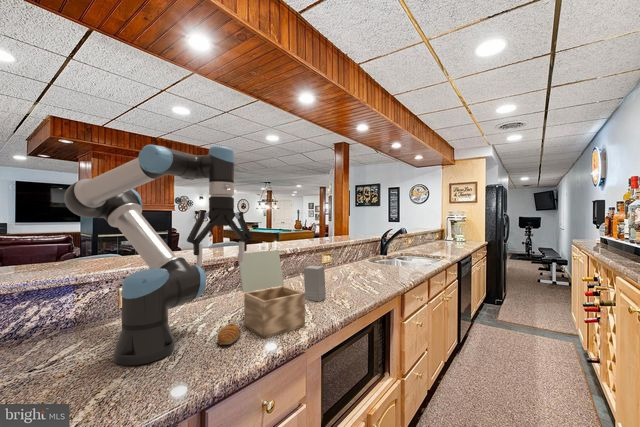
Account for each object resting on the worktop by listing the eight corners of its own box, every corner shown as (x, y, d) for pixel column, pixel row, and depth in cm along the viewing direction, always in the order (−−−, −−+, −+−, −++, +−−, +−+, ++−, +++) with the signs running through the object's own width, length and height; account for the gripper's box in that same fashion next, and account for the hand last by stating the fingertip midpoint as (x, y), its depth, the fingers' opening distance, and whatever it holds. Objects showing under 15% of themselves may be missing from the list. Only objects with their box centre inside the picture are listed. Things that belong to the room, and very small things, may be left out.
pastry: (235, 346, 90) (235, 334, 90) (212, 346, 90) (213, 334, 90) (241, 334, 100) (242, 322, 100) (221, 334, 99) (221, 322, 99)
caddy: (263, 338, 97) (263, 302, 97) (244, 326, 108) (244, 293, 108) (304, 326, 108) (305, 293, 108) (283, 316, 119) (283, 286, 119)
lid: (238, 253, 111) (236, 254, 112) (243, 292, 108) (241, 293, 109) (278, 250, 122) (276, 250, 123) (284, 285, 119) (282, 285, 120)
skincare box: (326, 299, 143) (326, 266, 143) (318, 302, 137) (318, 268, 137) (311, 296, 148) (311, 264, 148) (303, 299, 141) (303, 266, 142)
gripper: (183, 194, 83) (183, 270, 83) (262, 197, 99) (262, 261, 99) (175, 195, 89) (175, 266, 88) (251, 198, 105) (251, 258, 105)
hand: (221, 263), depth 94 cm, fingers open, 13 cm apart
